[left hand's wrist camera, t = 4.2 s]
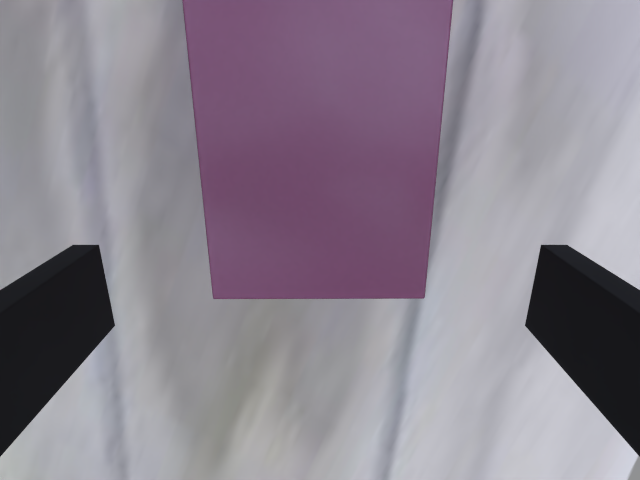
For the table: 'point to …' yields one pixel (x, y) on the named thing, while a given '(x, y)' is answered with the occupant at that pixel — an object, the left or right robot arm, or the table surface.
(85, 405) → the table surface
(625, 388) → the left robot arm
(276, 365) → the table surface
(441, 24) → the cabinet
